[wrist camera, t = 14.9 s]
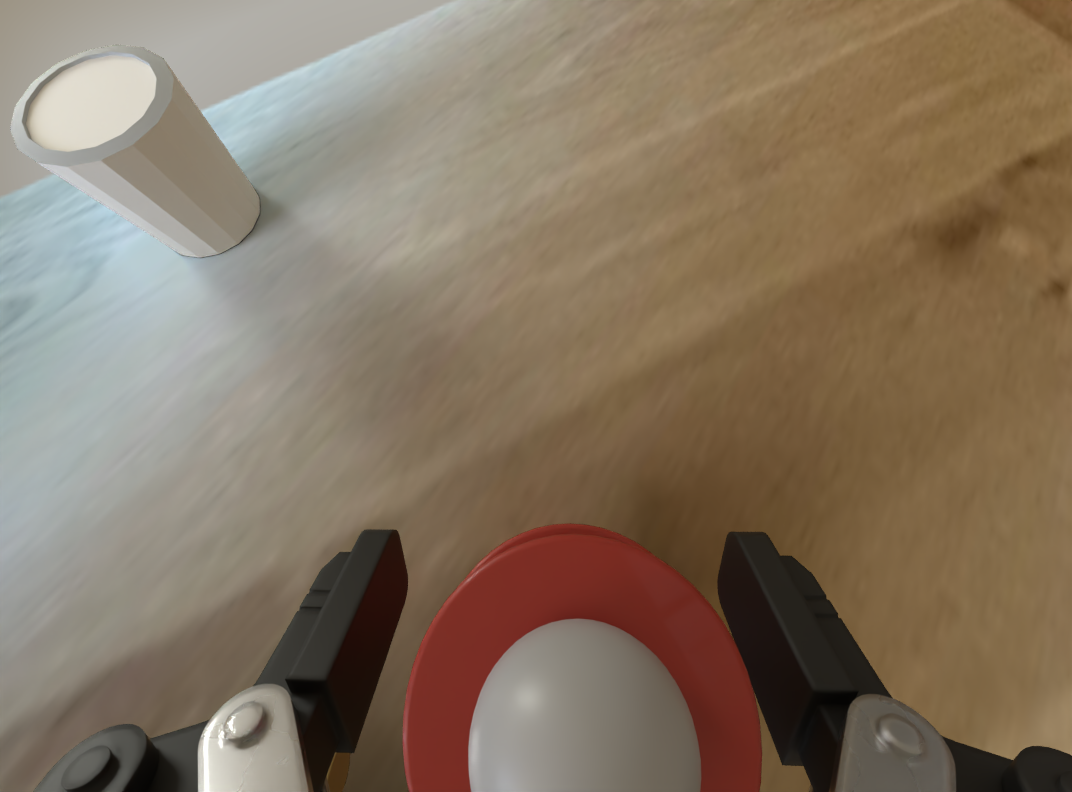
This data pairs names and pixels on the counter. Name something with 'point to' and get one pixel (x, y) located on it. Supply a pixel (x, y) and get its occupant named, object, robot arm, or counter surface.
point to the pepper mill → (579, 677)
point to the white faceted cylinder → (137, 148)
